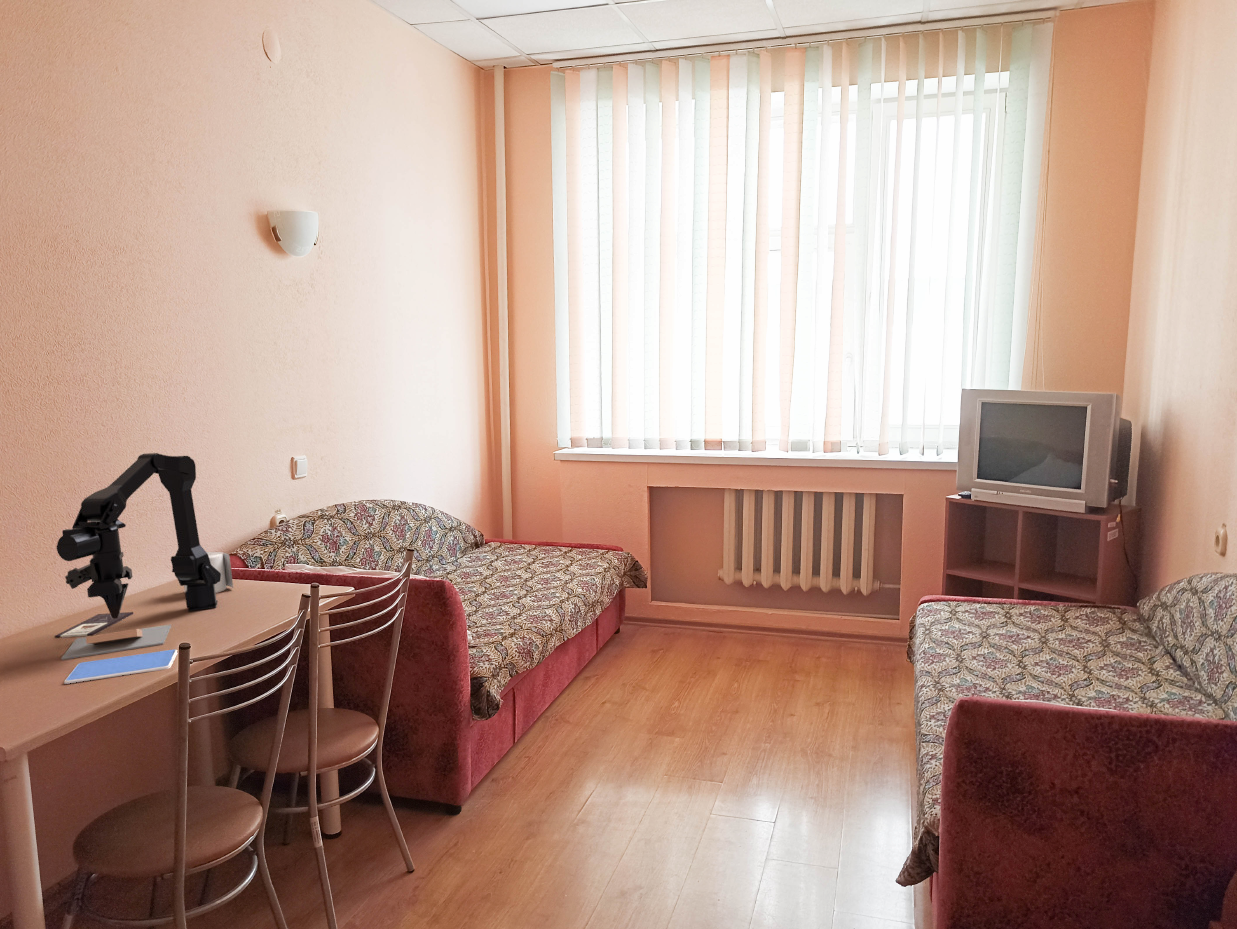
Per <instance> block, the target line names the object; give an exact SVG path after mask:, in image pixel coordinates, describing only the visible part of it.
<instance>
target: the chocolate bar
mask: <svg viewBox="0 0 1237 929" xmlns="http://www.w3.org/2000/svg"><path fill="white" fill-rule="evenodd" d="M133 614H134V611H130V612H129V611H128V612H120V613H119V617H118V618H115V619H113V618H112V616H111V614H110V612H109V613H98V614H95V615H94V616H92V617H90V618H88V619H86V620H83V621H82V622H80V623H77V624H76V625H74V626H72V627H70V628H67V629H65V630H64V631H62V632H59V633H57V634H56V635H54V638H55V639H60V637H62V638H63V639H64V638H81V637H86V636H93V635H98V633H101V632H102V631H104V630H106V629H108V628H110V627H111V626H114V625H115V624H117V623H120V622H121V621H122V619H123V620H125V619H127V618H129V617H130V616H132V615H133ZM126 617H127V618H126ZM113 624H114V625H113ZM62 638H61V639H62Z"/></svg>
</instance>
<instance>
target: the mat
mask: <svg viewBox="0 0 1237 929" xmlns="http://www.w3.org/2000/svg"><path fill="white" fill-rule="evenodd" d="M171 627H172V624H166V625H165V624H164V625H159V626H152V627H151V626H150V627H145V628H144V627H143V628H140V629H141V630H142V636H143V637H137V638H130V639H123V640H117V641H110V642H104V643H97V644H86V636H81V637H75V639H74V641H73V642H72V643H71V645H70V647H68V649H67V650H66V651H65V653H64V654H63V655H62V657H60V660H61V661H64V660H72V659H76V658H77V659H79V658H83V657H91V656H97V655H104V654H111V653H117V652H123V651H129V650H135V649H142V648H143V649H144V648H149V647H156V646H161V645H164V643H165V641H166V640H167V637H168V635H169V632H170V630H171Z"/></svg>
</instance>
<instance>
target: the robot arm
mask: <svg viewBox="0 0 1237 929" xmlns="http://www.w3.org/2000/svg"><path fill="white" fill-rule="evenodd" d="M154 474H157V475H158V477H159V481H160V483H161V484H162V486H163V487H164V488H165V489H166V490H167V492H168V494H169V500H170V504H171V511H172V517H173V522H174V524H173V525H174V528H175V535H176V539H177V540H176V541H177V542H176V543H177V550H176V553H175V555H172V556H170V562H171V567H172V569H171V572H172V573H174V577H175V578H176V579H177V581H178V584H179V586H180V587H181V586H182V587H183V586H184V585H187V590H186V592H185V591H184V597H185V604H186V608H187V610H188V612H194V611H201V610H207V609H215V608H217V606H218V602H219V601H218V600H217V593H215V585H214V584H217V582H220V578H221V573H220V572H219V571H218V570H216V569H215V568H214V567H213V566H212V565H211V563H210V559H209V556H208V554H207V551H206V550H205V549H204V548H203V546H202V545H201V542H200V537H199V530H198V524H197V518H196V511H195V506H194V500H193V495H192V493H193V492H192V488H193V486H194V483H195V481H196V479H197V470H196V463H195V459H193V458H191V457H190V456H189V455H164V454H160V453H158V452H153V453H152V452H150V453H142V454H140V455H138V456H137V459H136V460H135V461H134V462H133V463H132V464H131V465H130V466H129V467H128V468H127V469H126V470H125V471H123V473H121V474H120V475H119V476H118V477H117V478H116V479H115V480H114V481H112V483H110V484H109V485H108V486H107V487H105V488H102V489H100V490H97V491H95V492H93V493H92V494H90V495H89V496H87V497H85V498H84V499H83V500H82V501H81V504H80V509H79V511H78V513H77V516H76V518H75V520H74V523H73V525H72V528H67V529H62V535H61V537H59V539H58V541H57V543H56V546H55V547H56V551H57V554H58V556H59V557H60V558H61V559H62V560H64V561H66V562H72V561H76V560H79V559H82V558H87V557H90V556H92V557H91V559H89V564H87V565H84V566H82V567H79V568H77V567H74V568H73V569H69V570H68V571H67V574H66V575H65V576H64V578H65V580H66V581H65V583H66V584H68V585H69V586H70V588H71V589H72V590H73V589H76V588H78V587H79V586H80V585H83V584H84V583H86V582H89V581H91V582H92V583H91V584H90V585H89V586H88V588H87V589H86V592H87V598H90V599H91V598H99V597H100V598H102V600H103V601H104V603H105V605H106V607H107V610H108V612H109V613H110V614H111V616H112V618H113V619H115V618H118V617H119V613H121V609H122V606H123V603H124V600H125V596H126V593H127V591H128V587H129V583H128V582H126V583H122V579H127V580H131V579H132V578H133V570H132V568H130V567H128V566H127V565H126V566H124V561H123V557H124V555H125V554H124V551H122V547H121V540H120V533H119V530H120V529H123V528H126V526H127V525H126V524H125V523H124V522H122V521H121V520H120V519H119V518H120V516H121V515H122V513H124V511H125V510H126V507H127V502H128V499H129V498H131V496H132V495H133V494H134V493H135V492H137V490H138V489H140V488H141V487H142V485H144V484H145V483H146V482H147V481H148V479H150V478H151V477H152V476H153V475H154Z"/></svg>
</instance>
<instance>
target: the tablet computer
mask: <svg viewBox="0 0 1237 929" xmlns="http://www.w3.org/2000/svg"><path fill="white" fill-rule="evenodd" d="M177 651H178V650H177V649H168V650H160V651H154V652H148V653H139V654H133V655H125V656H119V657H111V658H105V659H96V660H90V661H83V662H80V663H79V662H78V663H77V665H76V666H75V667H74V668H73V670H72V671H71V672H70V674H69V675H68V676H67V677H66V679H65V680H64V681H63V684H65V685H68V684H69V685H70V683H71V684H77V683H83V681H84V682H89V681H90V680H91V681H96V680H103V679H110V678H116V677H123V676H122V675H124V676H129V675H130V674H131V675H135V674H136V675H137V674H142V673H149V672H150V673H151V672H156V671H158V672H159V671H164V670H168V669H170V668H171V667H172V665H173V663H174V662H175V659H176V657H177V655H178V653H177ZM76 682H77V683H76Z"/></svg>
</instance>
